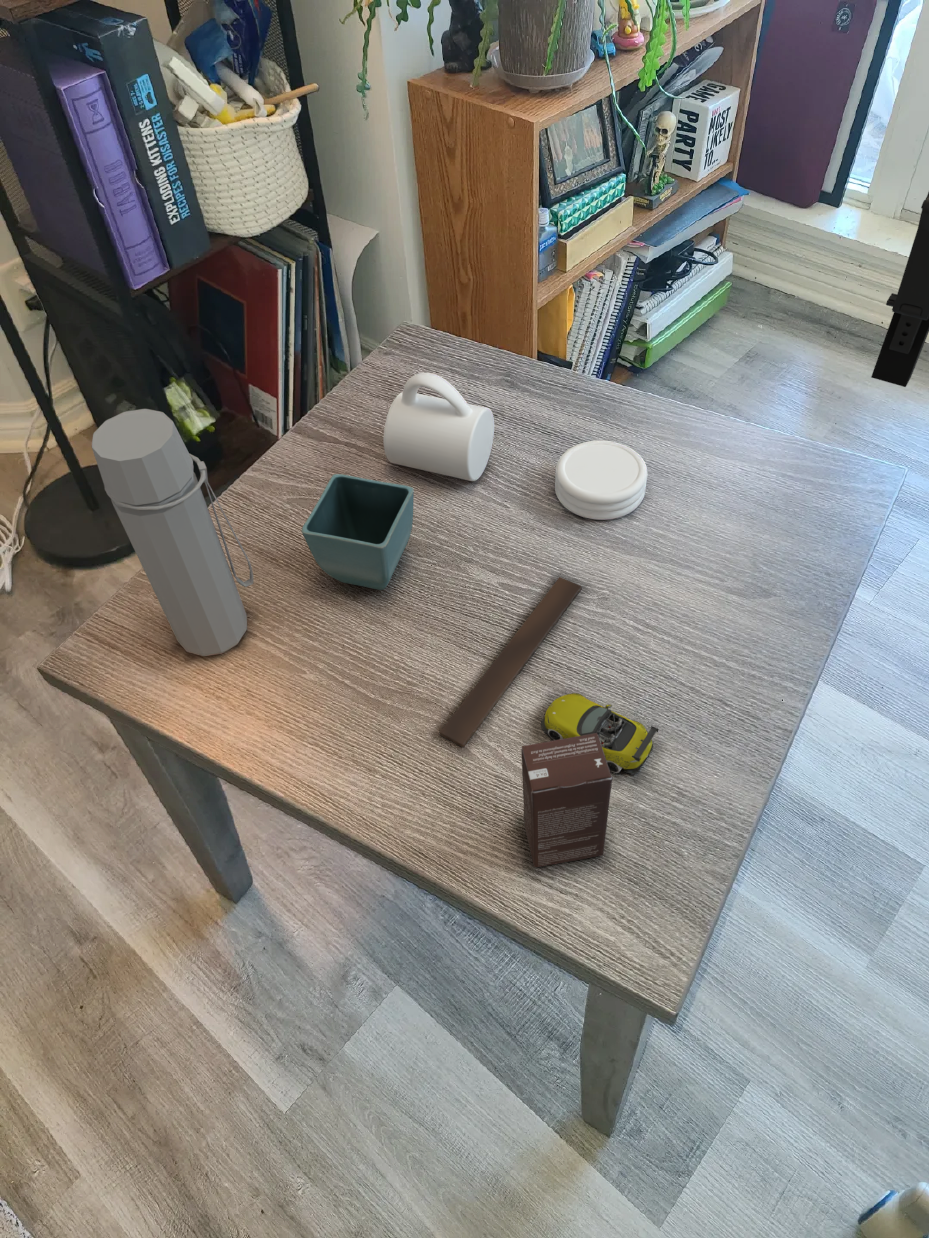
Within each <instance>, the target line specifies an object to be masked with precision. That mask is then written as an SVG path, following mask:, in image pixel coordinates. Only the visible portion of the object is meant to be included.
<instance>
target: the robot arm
mask: <svg viewBox="0 0 929 1238" xmlns="http://www.w3.org/2000/svg"><path fill="white" fill-rule="evenodd" d="M920 208H921V212H920V217H919V221H918V225H917V230H916V233H915V236H914V239H913V242H912V245H911V249H910V251H909V255H908V259H907V261H906V265H905V268H904V272H903V274H902V277H901V281H900V284H899V286H898V287H899V288H898V290H897V293H894V292H891V294H890V295H889V297H888V299H887V300H886V304H885V305H886V307H887V306H888V307H891V312H892V313H893V314H892V316H891V319H890V322H889V324H888V328H887V331H886V334H885V337H884V340H883V343H882V346H881V348H880V351H879V354H878V356H877V358H876V362H875V364H874V367H873V370H872V373H871V376H870V378H872V379H875V380H879V381H882V382H885V383H889V384H891V385H892V384H893V385H895V386H900V387H904V388H907V386H908V384H909V382H910V380H911V378H912V376H913V373H914V370H915V368H916V366H917V363H918V361H919V359H920V355H921V353H922V350H923V348H924V345H925V342H926V340H927V338H928V335H929V191H928V192H927V195H926V197H925V199H924V200H923V202H922V204H921V206H920Z"/></svg>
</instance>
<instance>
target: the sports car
mask: <svg viewBox="0 0 929 1238" xmlns="http://www.w3.org/2000/svg"><path fill="white" fill-rule="evenodd" d="M612 707H613V705H612V704H605V706H602V705H600V704H598V703H597V702H595V701H593V700H590V699H588V698H587V697H585V696H584V695H582V694H580V693H578V692H572V693H567V694H564V695H561V696H559V697H557V698H555V699H554V700H552V702H551V703H550V704H549V705H548V708H547V709H546V711H545V713H544V716H543V718H542V719H541V720H540V725H541V729H542V730H543V732H544V733H545V734H548V737H550V738H551V739H552V741H554V740H559V739H565V738H571V737H576V736H583V735H588V734H594V733H597V734H598V736H599V740H600V743H601V746H602V749H603V752H604V755H605V758H606V761H607V764H608V767H609V770H610V773H614V774H619V773H620V772H621V770H622V769H623V770H622V772H625V773H628V774H631V775H637V773H639V771H640V770H641V768H642V767H643V765H644V764H645V762H646V761H647V759H648V758H649V756H650V754H651V753H652V751H653V749H654V744H653V740H652V739H653V738H654V736H655V734H656V733H659V729H660V728H657V727H654V726H652V725H651V726H650V729H649V731H648V729H646V727H645V726H644V725H643V724H642V722H638V720H637V721H636V720H632V719H629V718H628V717H626V716H624V715H622V714H619V713H618V712H615V711H613V710H611V708H612Z"/></svg>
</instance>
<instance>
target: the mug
mask: <svg viewBox="0 0 929 1238" xmlns="http://www.w3.org/2000/svg"><path fill="white" fill-rule="evenodd" d="M420 388H425V389H426V388H427V389H429V390H432V391H433V392H435V393H437V394H438V395H440V396H441V397H437V396H432V395H427V394H422V393H418V391H419V389H420ZM494 437H495V418H494V413H493V411H492V410H491V408H489V407H486V406H482V405H476V404H471V403H468V402H467V401H466V399H465V398H464V396H463V395H462V394H461V392H459V390H457V389H456V387H455V386H454V385H453V384H451V383H450V382H449V381H448V380H447V379H445V378H444V377H442V376H441V375H438V374H435V373H432V372H419V373H416V374H414V375H412V376H410V378H408V379H407V381H406V382H405V383H404V385H403V388H402V391H401V392H400V393H398V394H397V396H395V397H394V399H393V401H392V403H391V404H390V407H389V409H388V412H387V415H386V418H385V423H384V429H383V439H382V440H383V451H384V454H385V457H386V459H387V460H388V461H389V462H390V463H391V464H394V465H399V466H403V467H408V468H412V469H416V470H420V471H425V472H430V473H434V474H439V475H442V476H447V477H452V478H455V479H461V480H465V481H470V482H475V481H477V480H479V478H481V477H482V475H483V473H484V472H485V470H486V467H487V465H488V462H489V460H490V456H491V453H492V449H493V444H494Z"/></svg>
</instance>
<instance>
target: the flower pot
mask: <svg viewBox="0 0 929 1238" xmlns="http://www.w3.org/2000/svg"><path fill="white" fill-rule="evenodd" d="M414 493H415V489H414V487H412V486H409V485H406V484H400V483H393V482H386V481H380V480H374V479H369V478H365V477H364V478H363V477H360V476H353V475H349V474H342V473H334V474H332V476H331V477H330V478H329V481H328V482H327V484H326V486H325V487H324V490H323V491H322V493H321V495H320V497H319V498H318V500H317V502H316V504H315V506H314V507H313V509H312V510H311V512H310V514H309V516H308V518H307V519H306V521H305V522H304V524H303V525H302V527H301V534H302V536H303V538H304V540H305V543H306V544H307V547H308V548H309V551H310V553H311V555H312V556H313V558H314V561H315V562H316V564H317V565H318V567H320V569H321V570H322V571H323V572H324V573H325V574H327V575H328V576H330V577H331V578H333V579H335V580H337V582H340V583H343V584H347V585H348V584H349V585H354V586H359V587H364V588H368V589H372V590H373V589H374V590H379V591H382V590H385V589H386V588H387V587H388V585H389V583H390V581H391V579H392V577H393V575H394V572H395V570H396V569H397V567H398V564H399V562H400V559H402V558H401V557H402V555H403V553H404V551H405V549H406V547H407V545H408V543H409V540H410V537H411V533H412V530H413V529H412V528H413V524H414V523H413V522H414V500H415V499H414V497H415V496H414Z"/></svg>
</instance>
